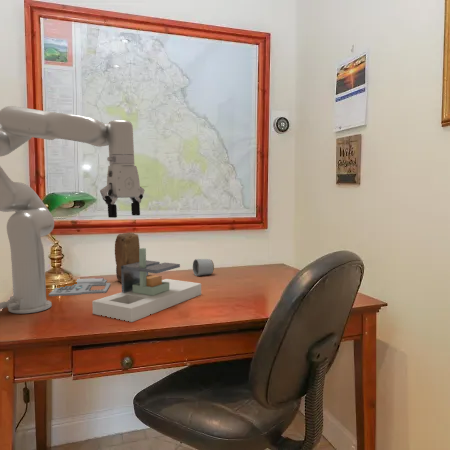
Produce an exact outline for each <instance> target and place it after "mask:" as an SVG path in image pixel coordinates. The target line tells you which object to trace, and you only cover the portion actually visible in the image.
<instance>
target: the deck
mask: <svg viewBox="0 0 450 450" xmlns="http://www.w3.org/2000/svg"><path fill="white" fill-rule="evenodd" d="M162 282H169V287H170V290H168V291H165V292H162V293H159V294H156V295H147V294H141V293H135V292H133V291H129V292H126V293H122V291H121V292H117V293H114V294H112V295H107V296H105V297H102V298H98V299H95V300H92V315H97V316H101V315H102V316H101V317H105V316H107V317H106V318H110V317H111V318H110V319H114V318H116V319H115V320H119V319H120V321H124V320H125V322H128V321H129V323H133V322H136V321H138V320H141V319H143V318H146V317H148V316H150V314H151V315H153V314H156V313H158V312H161V311H163V310H165V309H167V308H168V309H169V308H171V307H173V306H177V305H179V304H181V303H184V302H187V301H188V300H192V299H193V298H196V297H198V296H202V283H199V282H192V281H186V280H178V279H170V278H164V279H162Z"/></svg>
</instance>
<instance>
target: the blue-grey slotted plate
mask: <svg viewBox="0 0 450 450" xmlns="http://www.w3.org/2000/svg"><path fill="white" fill-rule="evenodd" d="M76 279H77V281H76V282H77V284H74V285H72V286H65V287H60V288H56V287H55V288H54V289H53V290H52V291H50V292H49V293H48V297H62V296H63V297H64V296H79V295H80V296H81V295H91V294H107V293H108V291H109V289H110V287H111V282H108V280H107V279H105V278H104V277H92V278H76ZM93 287H104V288H103V289H91V288H93Z"/></svg>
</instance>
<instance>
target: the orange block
mask: <svg viewBox="0 0 450 450" xmlns="http://www.w3.org/2000/svg"><path fill="white" fill-rule="evenodd" d="M162 277H163V276H162V275H155V274H148V275H147V276H146V283H147V286H149V287H154V286H157V285H160V284H162V280H163V278H162Z"/></svg>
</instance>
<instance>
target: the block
mask: <svg viewBox="0 0 450 450" xmlns="http://www.w3.org/2000/svg"><path fill="white" fill-rule="evenodd" d="M140 246H141V245H140V238H139V235H138V234H137V233H135V232H133V233H132V232H124V233H118V235H116V238H115V241H114V258H115V259H114V260H115V266H116V269H115V271H116V279H117V281H118V282H121V283H122V278H121V266H123V265H127V264H132V263H136V262H139V249H140Z"/></svg>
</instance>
